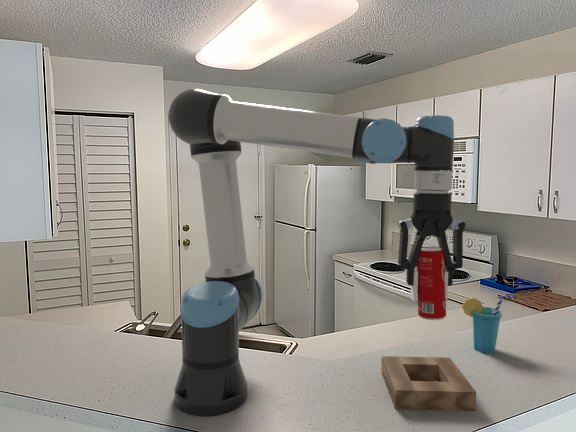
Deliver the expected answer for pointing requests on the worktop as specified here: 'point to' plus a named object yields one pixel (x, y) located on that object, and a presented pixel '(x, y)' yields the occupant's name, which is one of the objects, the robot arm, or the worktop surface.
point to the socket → (427, 384)
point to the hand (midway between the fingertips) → (428, 299)
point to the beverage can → (431, 283)
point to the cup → (484, 323)
